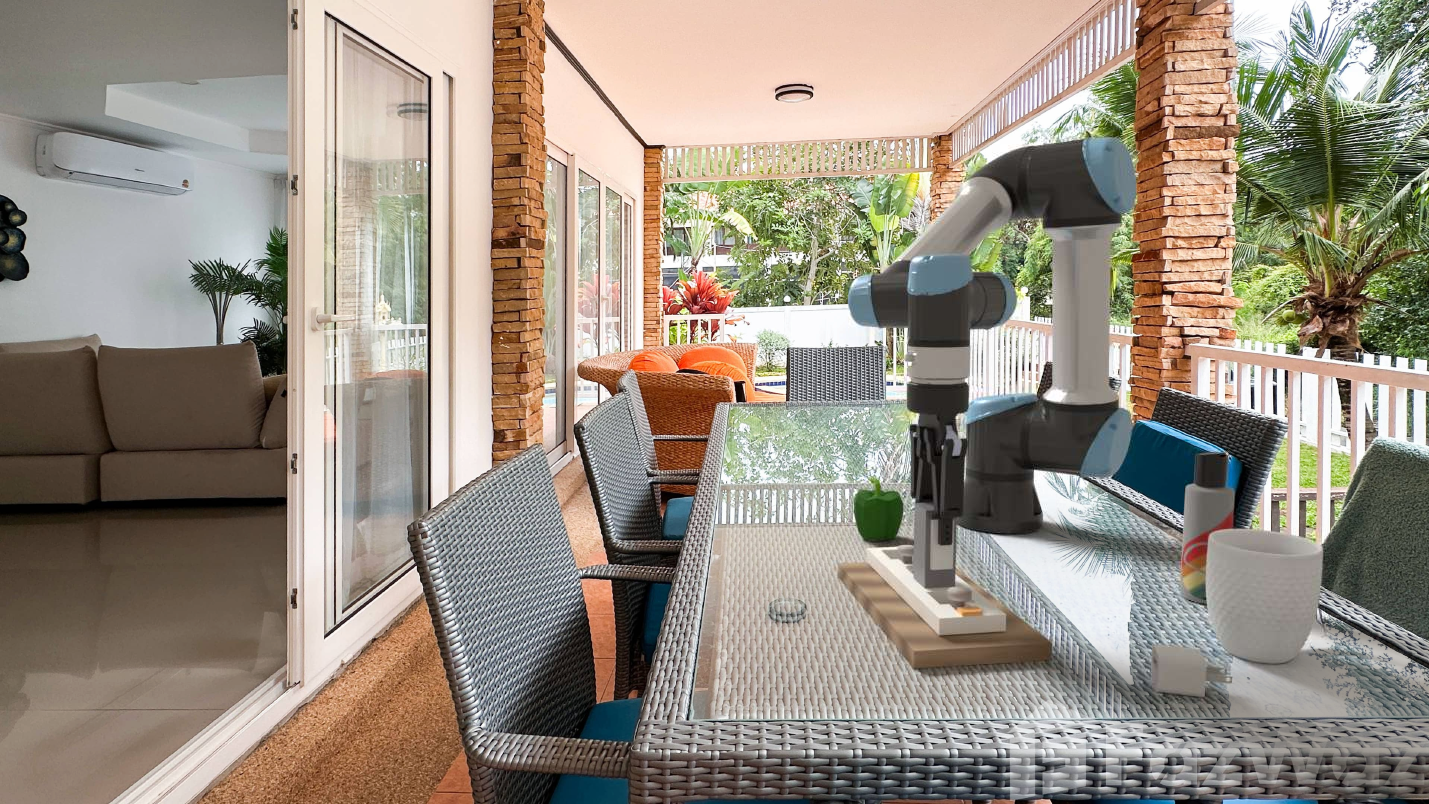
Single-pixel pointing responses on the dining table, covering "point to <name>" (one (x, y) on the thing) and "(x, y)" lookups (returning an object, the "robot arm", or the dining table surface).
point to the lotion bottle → (1204, 520)
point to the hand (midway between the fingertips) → (934, 562)
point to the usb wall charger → (1182, 671)
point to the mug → (1262, 592)
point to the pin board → (922, 640)
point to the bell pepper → (878, 513)
